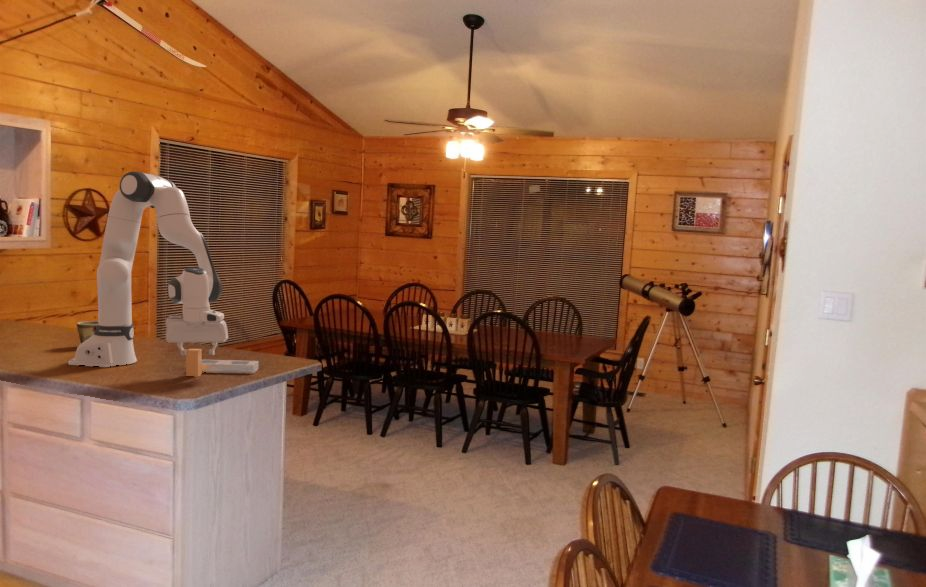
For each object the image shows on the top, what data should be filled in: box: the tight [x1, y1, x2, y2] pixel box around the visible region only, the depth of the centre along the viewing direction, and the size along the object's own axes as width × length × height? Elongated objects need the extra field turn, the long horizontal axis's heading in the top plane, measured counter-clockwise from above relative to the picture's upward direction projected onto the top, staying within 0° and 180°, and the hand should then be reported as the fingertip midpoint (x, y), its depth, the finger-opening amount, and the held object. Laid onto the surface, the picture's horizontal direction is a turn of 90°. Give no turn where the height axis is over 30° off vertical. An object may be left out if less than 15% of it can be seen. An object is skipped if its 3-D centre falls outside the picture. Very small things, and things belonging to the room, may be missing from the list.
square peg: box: [185, 348, 203, 378], centre depth 247 cm, size 4×4×9 cm
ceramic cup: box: [76, 320, 98, 344], centre depth 292 cm, size 13×10×10 cm
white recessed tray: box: [202, 359, 260, 375], centre depth 256 cm, size 22×8×3 cm, turn 93°
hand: (197, 354), depth 247 cm, fingers open, 8 cm apart
